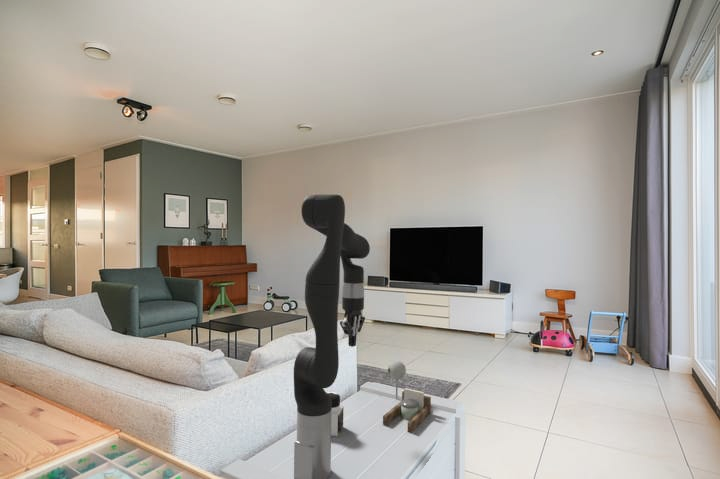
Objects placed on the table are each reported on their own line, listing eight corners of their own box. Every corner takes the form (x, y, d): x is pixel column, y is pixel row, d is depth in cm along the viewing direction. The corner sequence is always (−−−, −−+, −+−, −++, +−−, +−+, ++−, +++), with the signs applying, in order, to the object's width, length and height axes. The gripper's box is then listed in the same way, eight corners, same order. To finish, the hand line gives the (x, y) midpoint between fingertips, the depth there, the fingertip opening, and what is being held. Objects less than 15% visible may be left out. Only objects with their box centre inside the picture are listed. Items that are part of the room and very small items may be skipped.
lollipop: (385, 396, 158) (385, 359, 159) (401, 394, 161) (401, 357, 161) (391, 403, 152) (392, 364, 152) (408, 401, 154) (408, 363, 154)
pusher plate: (422, 415, 141) (422, 393, 141) (403, 410, 145) (404, 389, 145) (429, 408, 147) (429, 387, 147) (411, 404, 151) (411, 383, 151)
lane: (411, 432, 128) (411, 414, 128) (382, 424, 134) (382, 407, 134) (430, 413, 143) (430, 396, 143) (403, 406, 149) (403, 390, 149)
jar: (414, 422, 136) (414, 407, 136) (398, 418, 139) (398, 403, 139) (420, 415, 141) (421, 401, 141) (405, 411, 144) (405, 398, 144)
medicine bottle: (338, 437, 125) (338, 399, 125) (316, 434, 126) (317, 397, 126) (343, 426, 132) (343, 391, 132) (323, 424, 133) (323, 389, 133)
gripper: (351, 298, 127) (350, 352, 127) (372, 294, 138) (371, 343, 138) (333, 296, 131) (332, 348, 131) (354, 293, 142) (353, 340, 142)
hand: (352, 345), depth 135 cm, fingers closed
